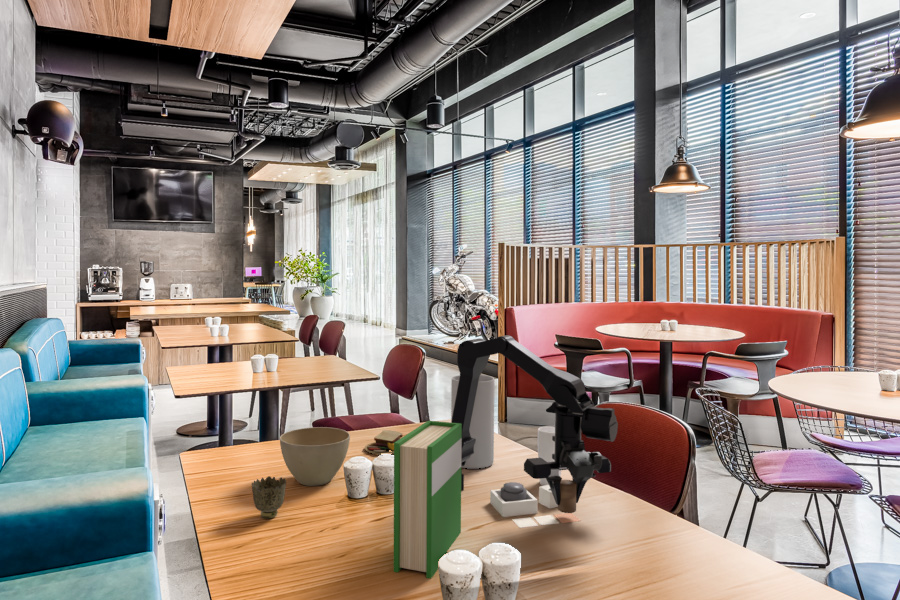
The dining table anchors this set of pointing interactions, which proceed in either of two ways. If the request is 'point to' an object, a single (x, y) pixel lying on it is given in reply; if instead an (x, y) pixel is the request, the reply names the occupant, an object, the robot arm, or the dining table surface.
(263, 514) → the cup
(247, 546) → the dining table surface
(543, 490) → the die
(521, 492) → the popper button
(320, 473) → the deep taupe bowl
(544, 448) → the white tapered vase
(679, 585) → the dining table surface
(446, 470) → the hardback book
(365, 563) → the dining table surface
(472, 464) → the cylinder vase
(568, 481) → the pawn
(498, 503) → the board
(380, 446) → the toy sandwich meal
